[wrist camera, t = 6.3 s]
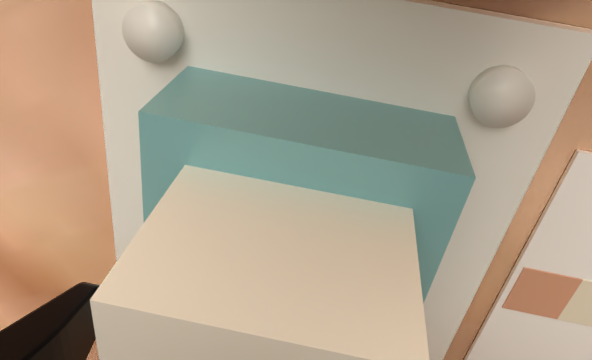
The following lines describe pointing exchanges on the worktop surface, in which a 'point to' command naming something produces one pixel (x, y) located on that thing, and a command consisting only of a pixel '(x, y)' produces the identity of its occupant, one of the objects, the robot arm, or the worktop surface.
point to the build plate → (369, 62)
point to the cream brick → (263, 277)
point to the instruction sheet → (548, 282)
